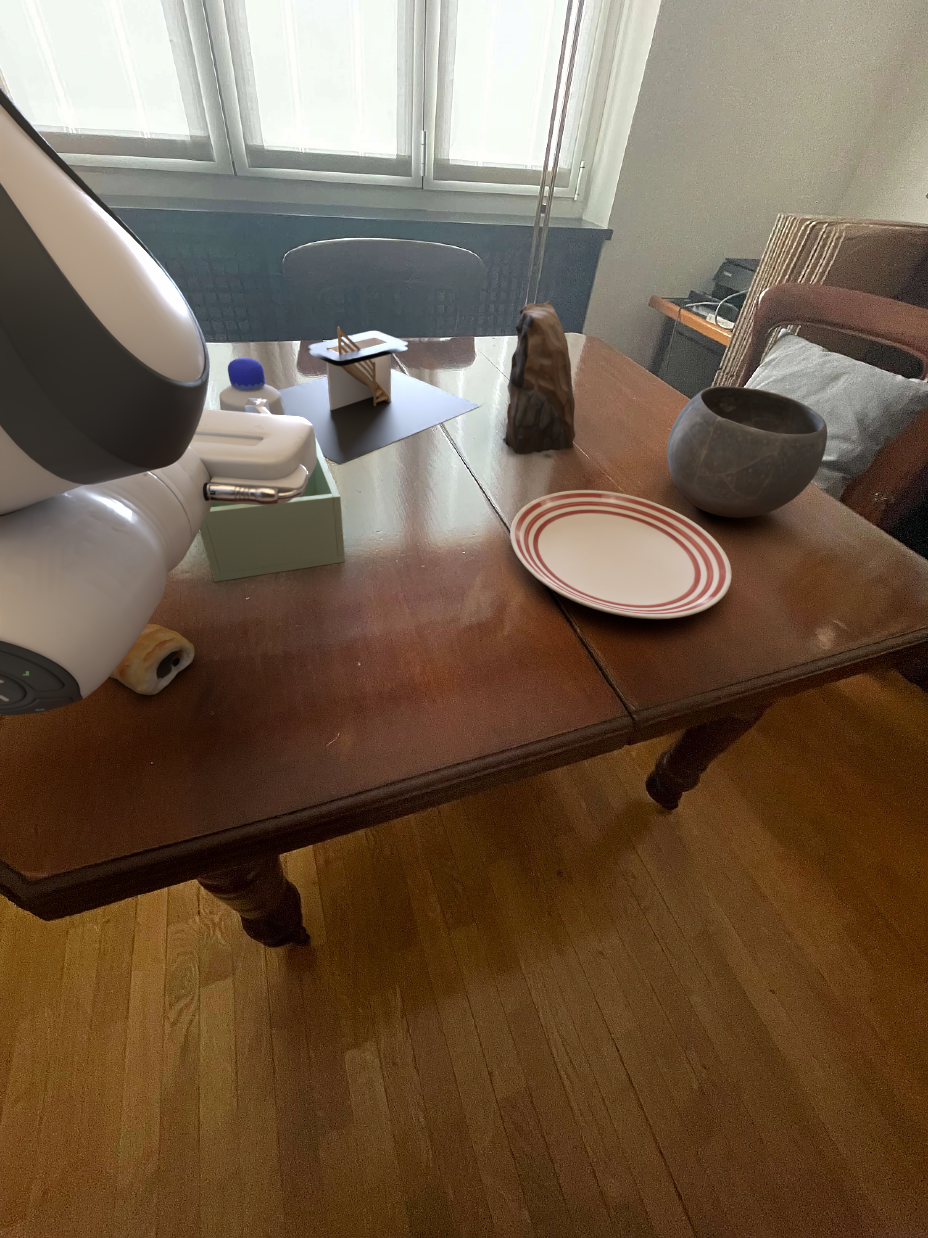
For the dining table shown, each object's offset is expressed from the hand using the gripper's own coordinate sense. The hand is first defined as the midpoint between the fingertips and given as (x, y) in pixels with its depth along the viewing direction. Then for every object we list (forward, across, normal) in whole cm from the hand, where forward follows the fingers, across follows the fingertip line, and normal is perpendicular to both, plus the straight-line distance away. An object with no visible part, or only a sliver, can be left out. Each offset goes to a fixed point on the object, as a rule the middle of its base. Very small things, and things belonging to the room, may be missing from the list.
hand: (200, 402), depth 44 cm
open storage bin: (+12, 0, +22) cm, 25 cm away
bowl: (+27, -64, +21) cm, 73 cm away
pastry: (-10, +7, +22) cm, 25 cm away
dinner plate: (+10, -43, +21) cm, 49 cm away
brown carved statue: (+44, -38, +21) cm, 62 cm away
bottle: (+12, -1, +21) cm, 24 cm away
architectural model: (+54, -7, +22) cm, 58 cm away
